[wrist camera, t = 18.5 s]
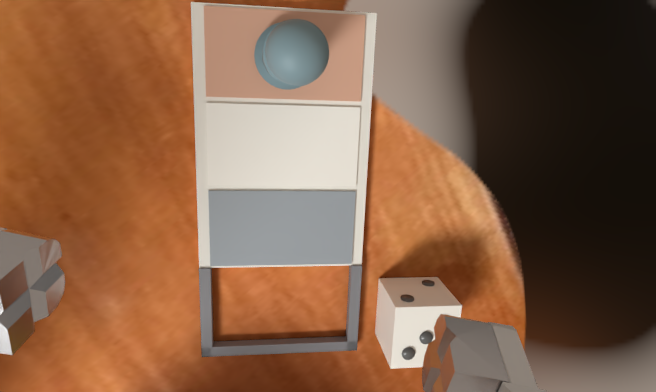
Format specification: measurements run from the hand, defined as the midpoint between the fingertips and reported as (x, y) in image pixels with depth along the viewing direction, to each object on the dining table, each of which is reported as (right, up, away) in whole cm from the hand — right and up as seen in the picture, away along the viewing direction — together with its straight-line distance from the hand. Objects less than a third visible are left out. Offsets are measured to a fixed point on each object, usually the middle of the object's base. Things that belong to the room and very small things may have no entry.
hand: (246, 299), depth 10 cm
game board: (-2, +3, +33) cm, 33 cm away
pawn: (-2, +14, +29) cm, 32 cm away
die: (+10, -9, +37) cm, 40 cm away
